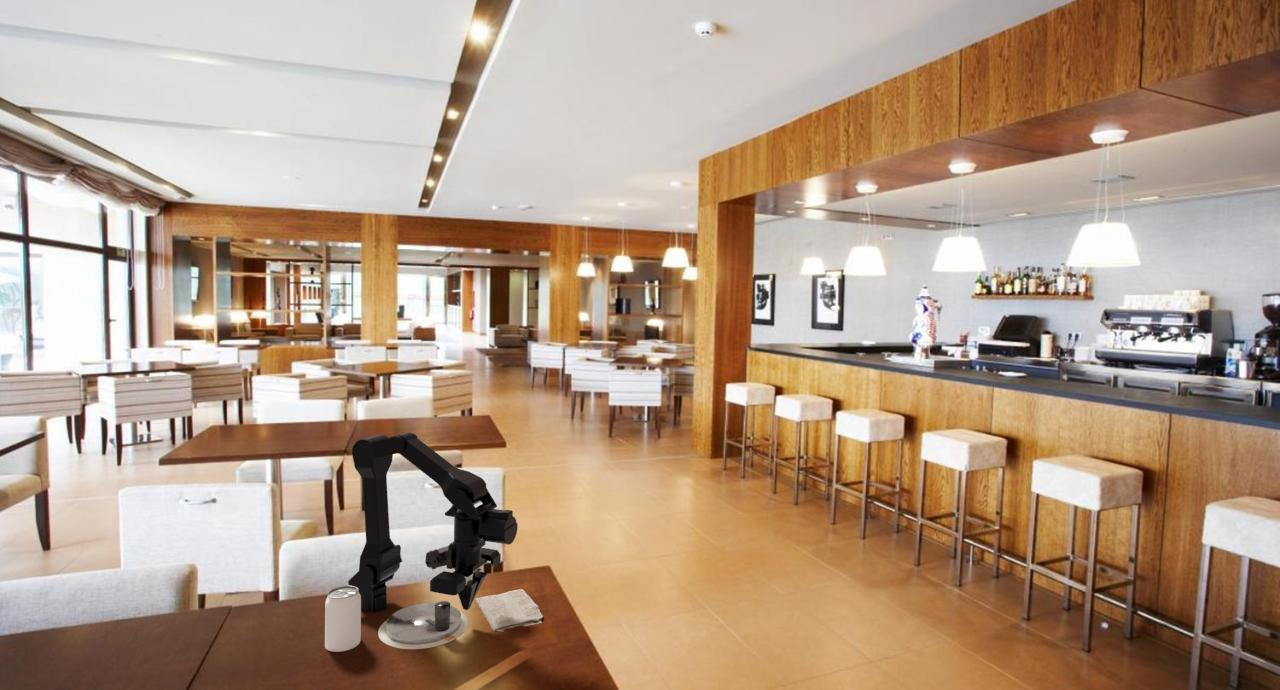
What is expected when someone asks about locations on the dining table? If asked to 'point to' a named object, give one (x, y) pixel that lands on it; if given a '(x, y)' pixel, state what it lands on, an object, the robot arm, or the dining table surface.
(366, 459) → the robot arm
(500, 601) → the washcloth
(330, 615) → the can
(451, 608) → the dial
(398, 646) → the dial base
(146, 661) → the dining table surface
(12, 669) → the dining table surface
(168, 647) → the dining table surface
